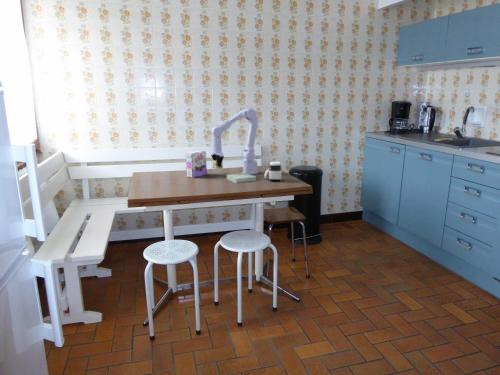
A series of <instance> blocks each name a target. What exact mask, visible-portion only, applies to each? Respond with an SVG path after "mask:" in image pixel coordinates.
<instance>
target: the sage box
mask: <svg viewBox="0 0 500 375" xmlns="http://www.w3.org/2000/svg"><path fill="white" fill-rule="evenodd" d="M226 180H229V181H230V182H233V183H235V184H239V183H247V182H256V181H257V176H255V175H254V174H248V173H241V172H239V173H233V174H226Z"/></svg>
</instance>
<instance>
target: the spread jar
mask: <svg viewBox="0 0 500 375" xmlns="http://www.w3.org/2000/svg"><path fill="white" fill-rule="evenodd" d="M281 164H282V162H281V161H270V162H269V167H268V168H267V169H266V170H265V172H264V174H263V177H264V179H266V180H268V179H269V181H270V182H274V183H275V182H277V183H278V182H282V173H283V172H282V165H281Z"/></svg>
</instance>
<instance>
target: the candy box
mask: <svg viewBox="0 0 500 375" xmlns="http://www.w3.org/2000/svg"><path fill="white" fill-rule="evenodd" d="M185 164H186V165H185V169H186V178H191V179H195V178H198V177H203V176H207V175H208V174H207V173H208V171H207V168H208V167H207V151H206V150H205V151H204V150H197V151H196V150H195V151H190V152H186V153H185Z"/></svg>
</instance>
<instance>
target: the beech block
mask: <svg viewBox="0 0 500 375" xmlns="http://www.w3.org/2000/svg"><path fill="white" fill-rule="evenodd" d="M223 161H224V160H222V164H221V167H218V166H217V160H213V159H212V169H214V170H219V169H221V170H222V169H224V167H223Z"/></svg>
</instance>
